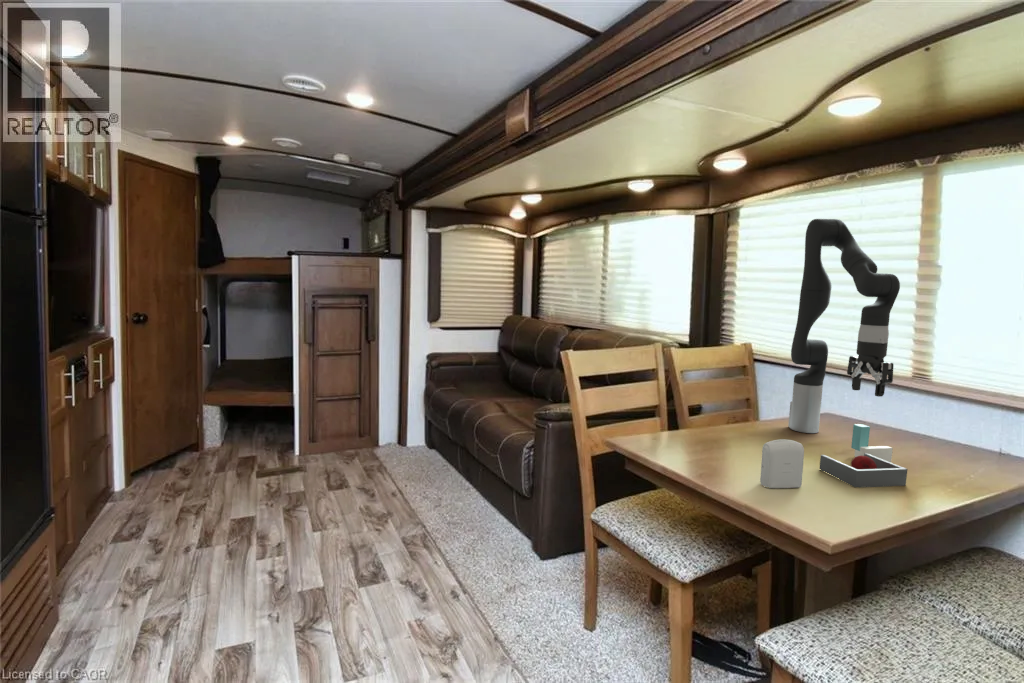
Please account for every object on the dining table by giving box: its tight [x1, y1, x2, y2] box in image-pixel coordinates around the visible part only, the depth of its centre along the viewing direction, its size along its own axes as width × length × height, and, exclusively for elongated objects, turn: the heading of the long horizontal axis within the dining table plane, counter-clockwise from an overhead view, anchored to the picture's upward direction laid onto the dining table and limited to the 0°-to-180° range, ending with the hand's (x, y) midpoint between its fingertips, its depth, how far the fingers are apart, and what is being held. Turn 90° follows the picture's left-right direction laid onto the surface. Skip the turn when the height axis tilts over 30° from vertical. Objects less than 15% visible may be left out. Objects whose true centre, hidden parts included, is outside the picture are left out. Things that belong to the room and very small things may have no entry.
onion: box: [850, 456, 877, 469], centre depth 145 cm, size 6×6×8 cm
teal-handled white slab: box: [850, 423, 894, 463], centre depth 159 cm, size 8×9×10 cm
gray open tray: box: [819, 453, 908, 488], centre depth 144 cm, size 13×15×4 cm
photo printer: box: [759, 438, 805, 489], centre depth 136 cm, size 10×4×12 cm, turn 96°
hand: (867, 393), depth 160 cm, fingers open, 8 cm apart
